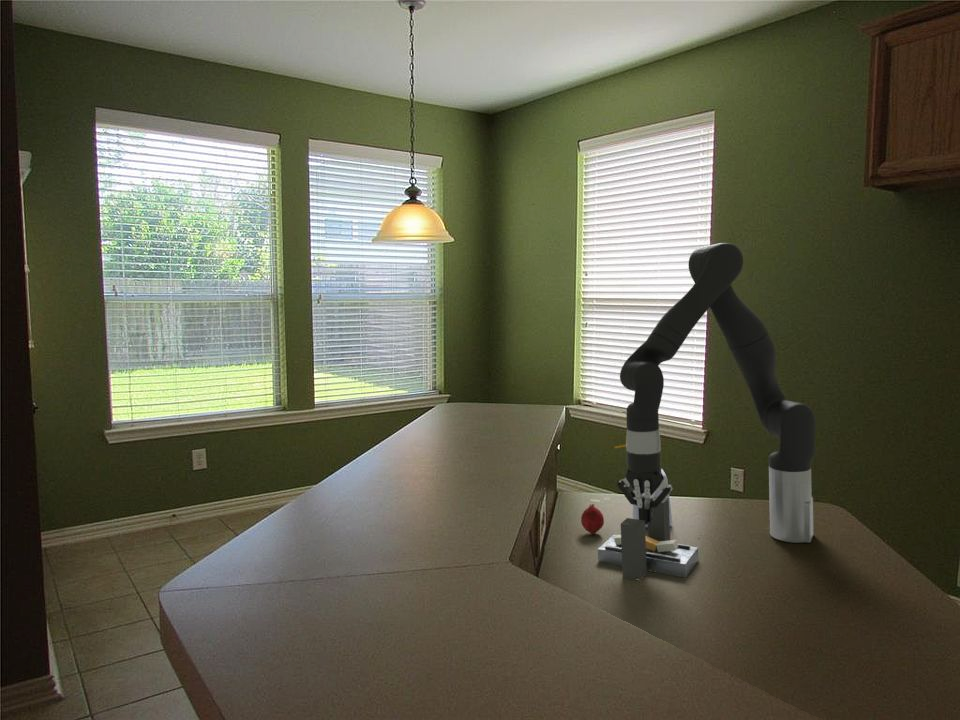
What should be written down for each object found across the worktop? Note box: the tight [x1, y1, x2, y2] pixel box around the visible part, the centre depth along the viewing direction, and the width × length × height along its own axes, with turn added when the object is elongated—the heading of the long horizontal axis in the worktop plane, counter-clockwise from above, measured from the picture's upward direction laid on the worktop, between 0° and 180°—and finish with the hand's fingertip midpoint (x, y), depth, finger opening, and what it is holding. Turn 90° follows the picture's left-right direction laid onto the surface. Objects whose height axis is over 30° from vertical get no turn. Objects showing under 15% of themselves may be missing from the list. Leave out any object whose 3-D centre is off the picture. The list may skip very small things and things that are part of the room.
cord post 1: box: [620, 517, 648, 581], centre depth 139 cm, size 4×4×12 cm
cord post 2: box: [647, 496, 671, 541], centre depth 153 cm, size 4×4×12 cm
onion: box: [580, 503, 605, 535], centre depth 165 cm, size 6×6×8 cm
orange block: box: [645, 535, 659, 551], centre depth 146 cm, size 4×2×2 cm, turn 57°
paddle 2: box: [656, 539, 679, 552], centre depth 144 cm, size 4×2×2 cm, turn 56°
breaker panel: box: [597, 533, 699, 578], centre depth 147 cm, size 20×10×4 cm, turn 57°
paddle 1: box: [614, 534, 621, 545], centre depth 150 cm, size 4×2×2 cm, turn 56°
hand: (645, 523), depth 146 cm, fingers closed
